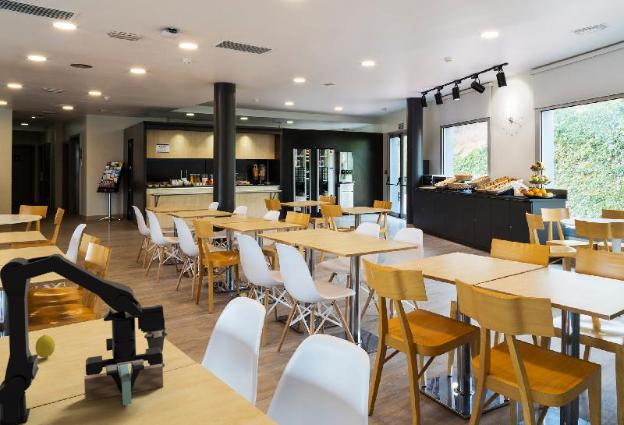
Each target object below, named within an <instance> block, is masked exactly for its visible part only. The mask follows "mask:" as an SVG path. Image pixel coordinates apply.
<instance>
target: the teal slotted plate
mask: <svg viewBox="0 0 624 425" xmlns="http://www.w3.org/2000/svg"><path fill="white" fill-rule="evenodd" d="M128 365H129V364H122V365H118V369H119V374H120V379H121V385H122V394H121V399H122V406H126V405H127V406H128V405H131V404H132V393H131V381H130V371H129V370H130V369H129V366H128Z"/></svg>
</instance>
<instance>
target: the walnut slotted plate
mask: <svg viewBox="0 0 624 425" xmlns="http://www.w3.org/2000/svg"><path fill="white" fill-rule="evenodd" d="M149 365H150V364H149ZM149 365H147V366H145V365H144V369H143V370H140V372H139V374H138V376H137V378H136V381H135V383H134V386H133V389H132V391H131V394H132V393H136V392H142V391H147V390H152V389H158V388H164V371H163V370H164V369H163V368H164V367H163V366H162V364H157V365H150V366H149ZM83 380H84V383H83V384H84V401H85V402H86V401H92V400H98V399H104V398H108V397H113V396H119V395H121V396H122V393H120V391H119V389H118V386H117V384H116V382H115V381H114V379H113V378H112V376H111V375H106V372H103V373H100V374H95V375H89V376H88V375H85V376H84V379H83Z"/></svg>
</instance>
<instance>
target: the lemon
mask: <svg viewBox="0 0 624 425" xmlns="http://www.w3.org/2000/svg"><path fill="white" fill-rule="evenodd" d="M55 347H56V343H55V340H54V338H53V337H52V336H50V335H48V334H43V335H42V336H40V337H38V339H37V340H36V342H35V353H36V354H38V357H40V358H43V359H45V360H46V359H48V358H49V357H51V355H53V353H54V352H55V349H56V348H55Z"/></svg>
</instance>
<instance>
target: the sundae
mask: <svg viewBox="0 0 624 425" xmlns="http://www.w3.org/2000/svg"><path fill="white" fill-rule="evenodd" d="M166 336H168V333H167V332H166V327H165V330H164V331H155V332H146V333H145V334H144V337H143V338H145V339H146V341H147V346H148V347H147V349H149V348H156V347H159V348H160V349H161V352H162V353H163V350H164V344H165V337H166ZM148 366H150V364H148ZM162 366H163V368H164V367H165V366H166V365H165V363H164V362H163V363H162Z"/></svg>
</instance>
